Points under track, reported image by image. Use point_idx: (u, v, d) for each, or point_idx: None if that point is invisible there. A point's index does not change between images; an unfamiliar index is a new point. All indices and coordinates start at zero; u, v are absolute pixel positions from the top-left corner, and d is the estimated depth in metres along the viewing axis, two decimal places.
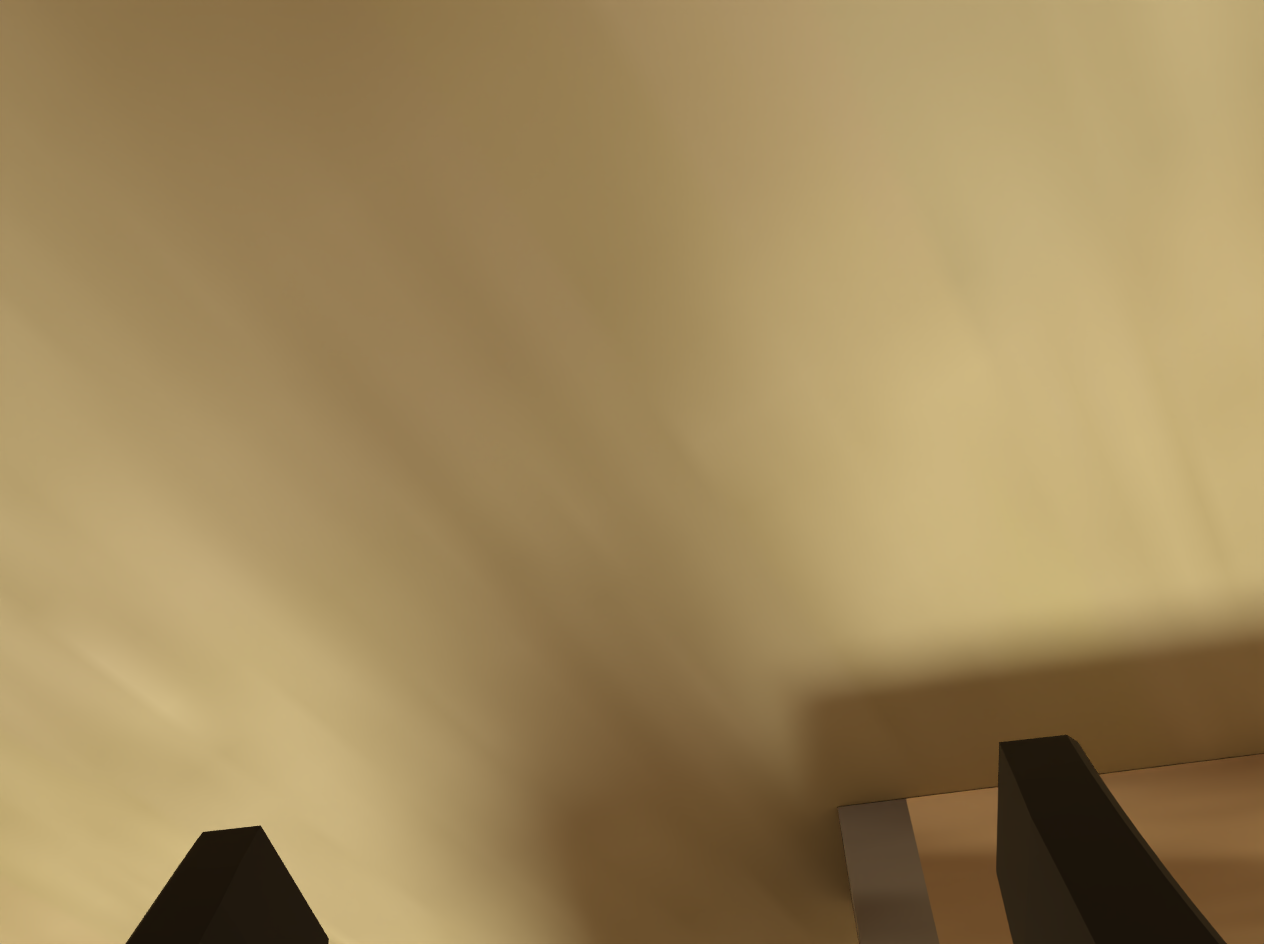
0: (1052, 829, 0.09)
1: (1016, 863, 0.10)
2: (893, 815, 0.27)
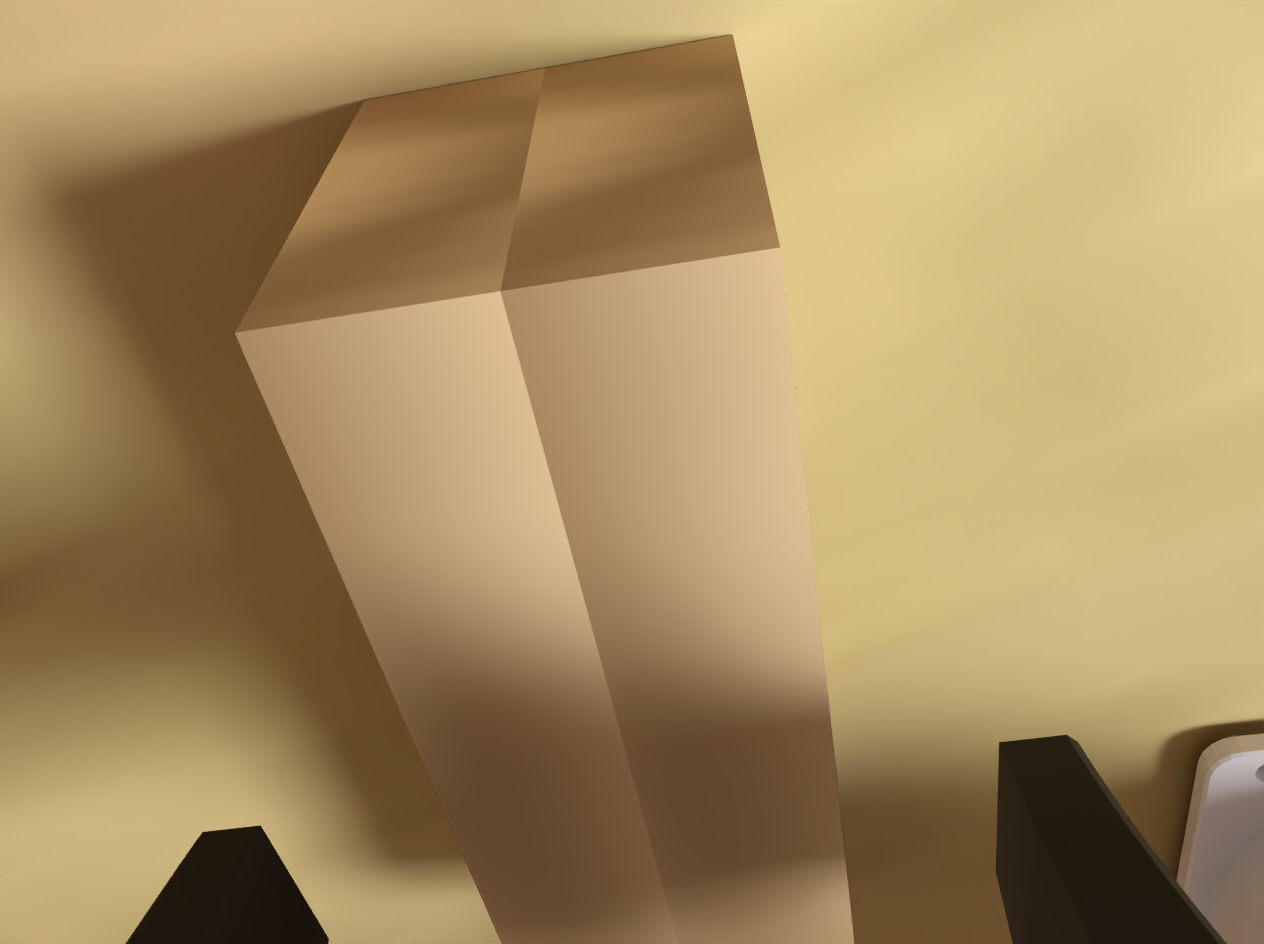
0: (1052, 828, 0.09)
1: (1016, 862, 0.10)
2: None
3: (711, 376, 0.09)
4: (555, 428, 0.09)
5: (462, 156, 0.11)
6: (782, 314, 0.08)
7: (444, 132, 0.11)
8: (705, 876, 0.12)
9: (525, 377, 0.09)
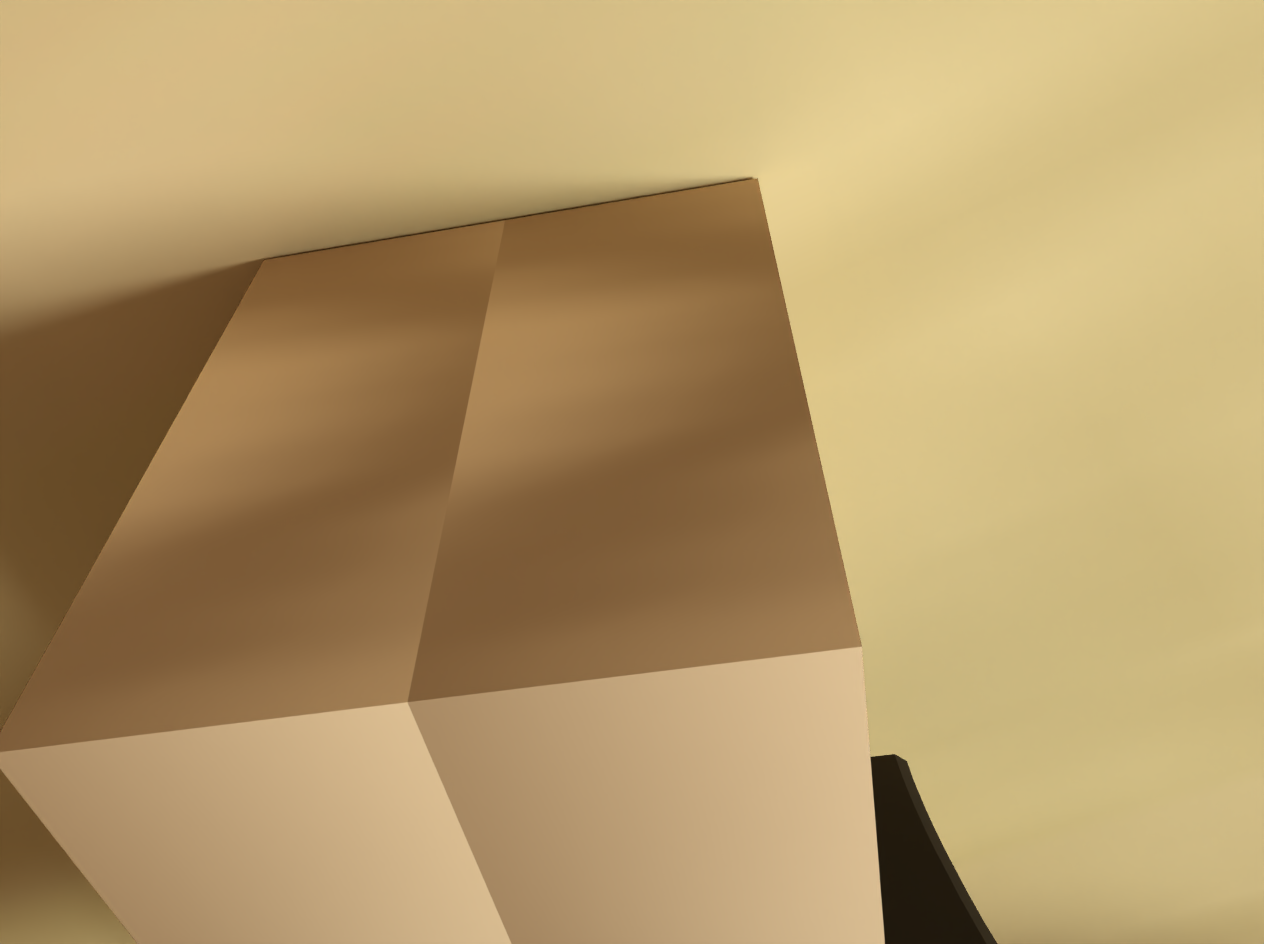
0: None
1: None
2: None
3: (746, 801, 0.06)
4: (503, 863, 0.06)
5: (381, 383, 0.07)
6: (861, 731, 0.05)
7: (360, 331, 0.08)
8: None
9: (453, 803, 0.06)
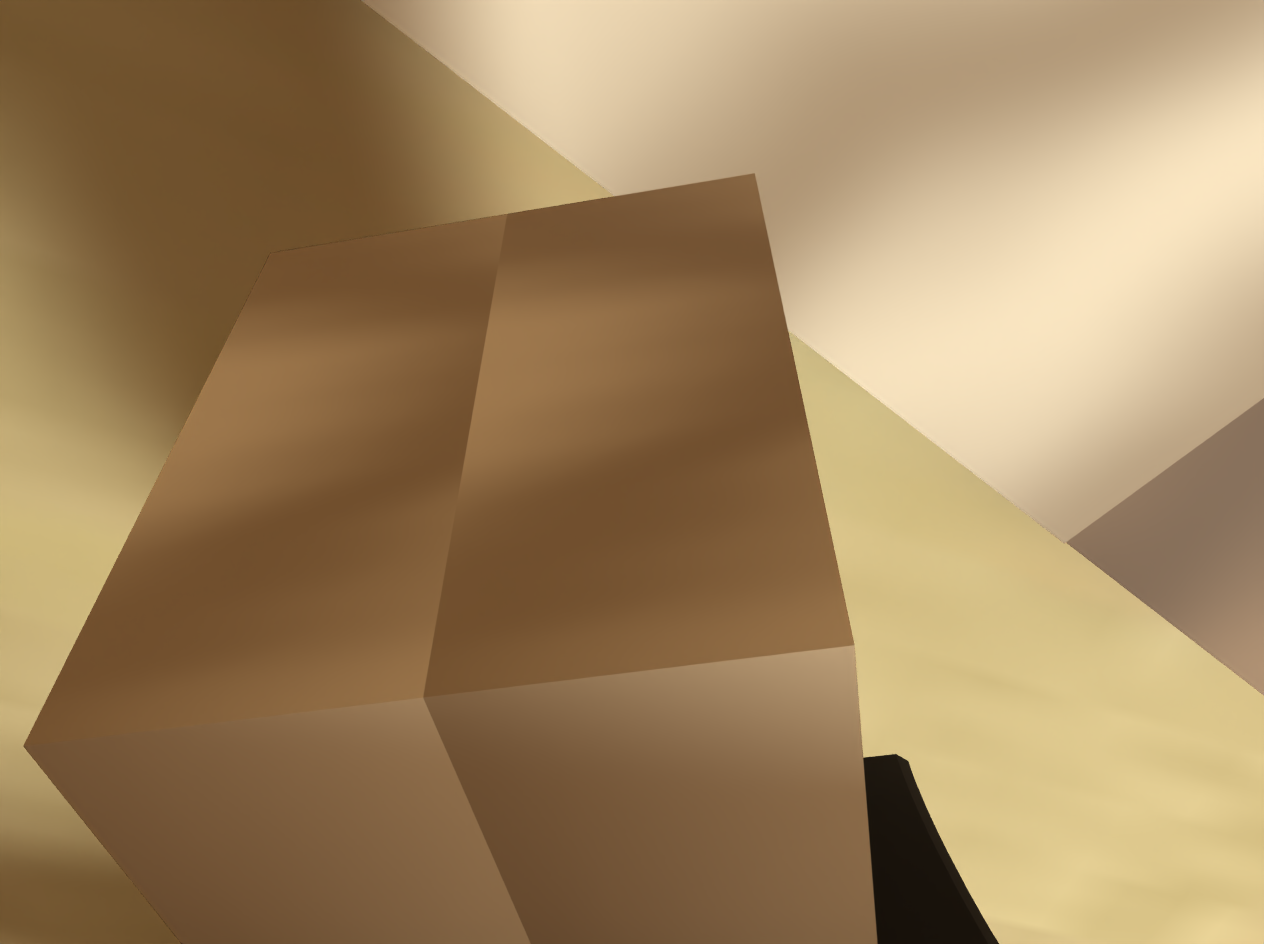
0: None
1: None
2: None
3: (744, 790, 0.06)
4: (513, 846, 0.06)
5: (388, 381, 0.08)
6: (853, 723, 0.05)
7: (367, 327, 0.08)
8: None
9: (464, 790, 0.06)
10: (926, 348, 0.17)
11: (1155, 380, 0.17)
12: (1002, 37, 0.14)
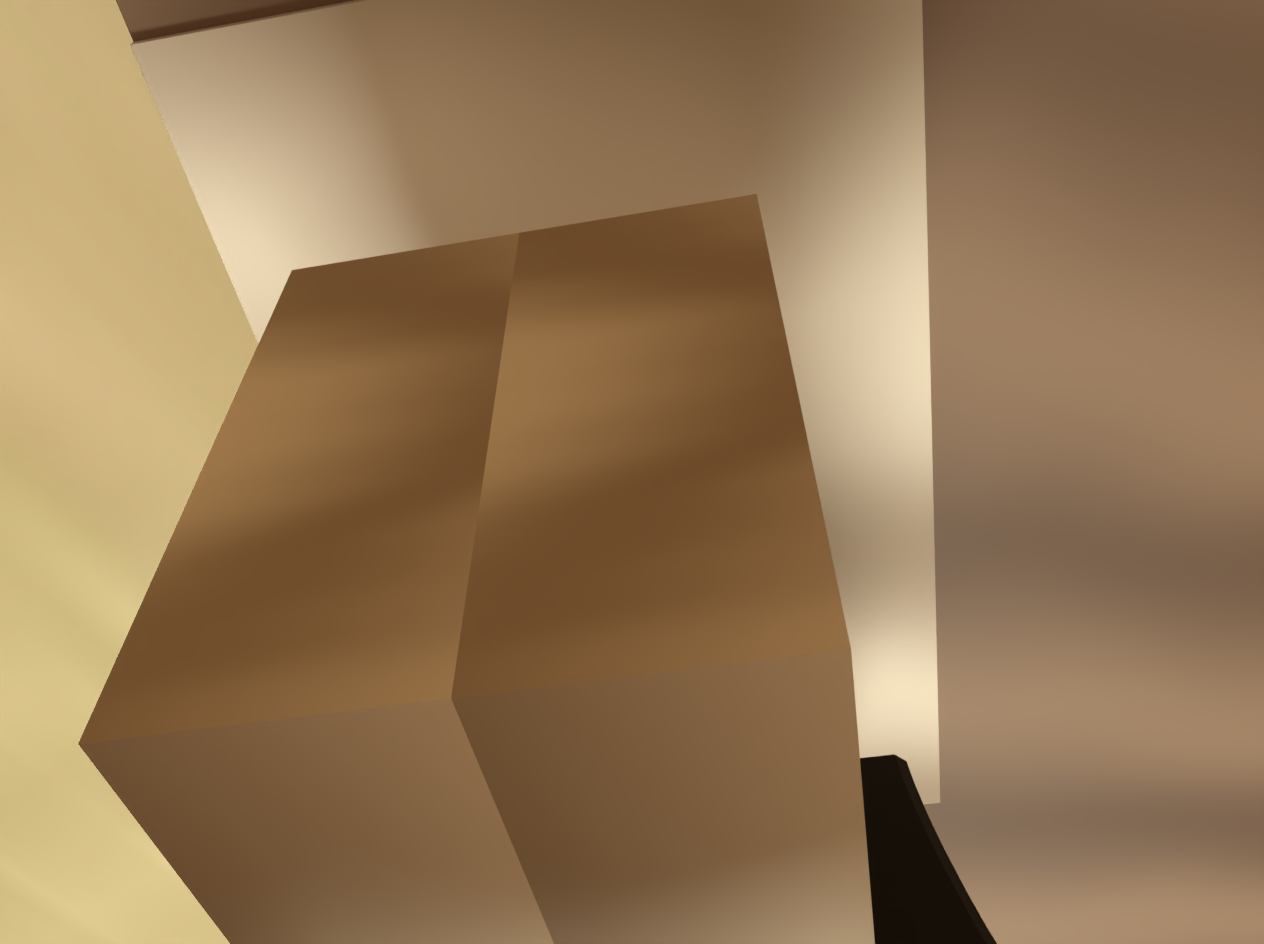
0: None
1: None
2: None
3: (748, 782, 0.06)
4: (532, 836, 0.07)
5: (409, 395, 0.08)
6: (850, 721, 0.06)
7: (388, 344, 0.09)
8: None
9: (488, 784, 0.06)
10: None
11: None
12: None
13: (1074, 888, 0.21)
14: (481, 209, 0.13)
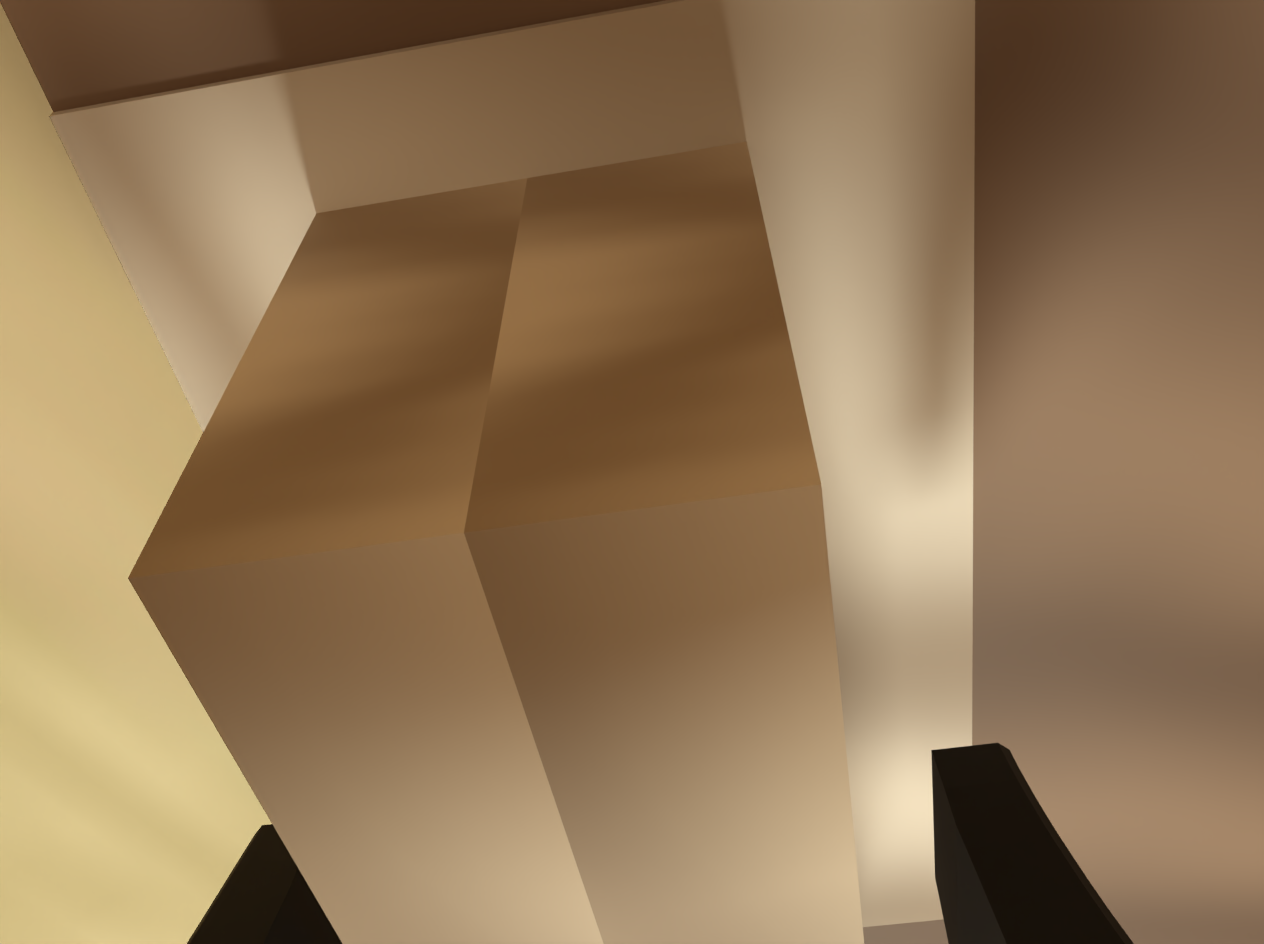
0: (976, 837, 0.09)
1: (948, 870, 0.10)
2: None
3: (732, 624, 0.07)
4: (535, 680, 0.07)
5: (426, 307, 0.09)
6: (822, 558, 0.07)
7: (406, 268, 0.09)
8: None
9: (497, 625, 0.07)
10: None
11: None
12: None
13: None
14: None
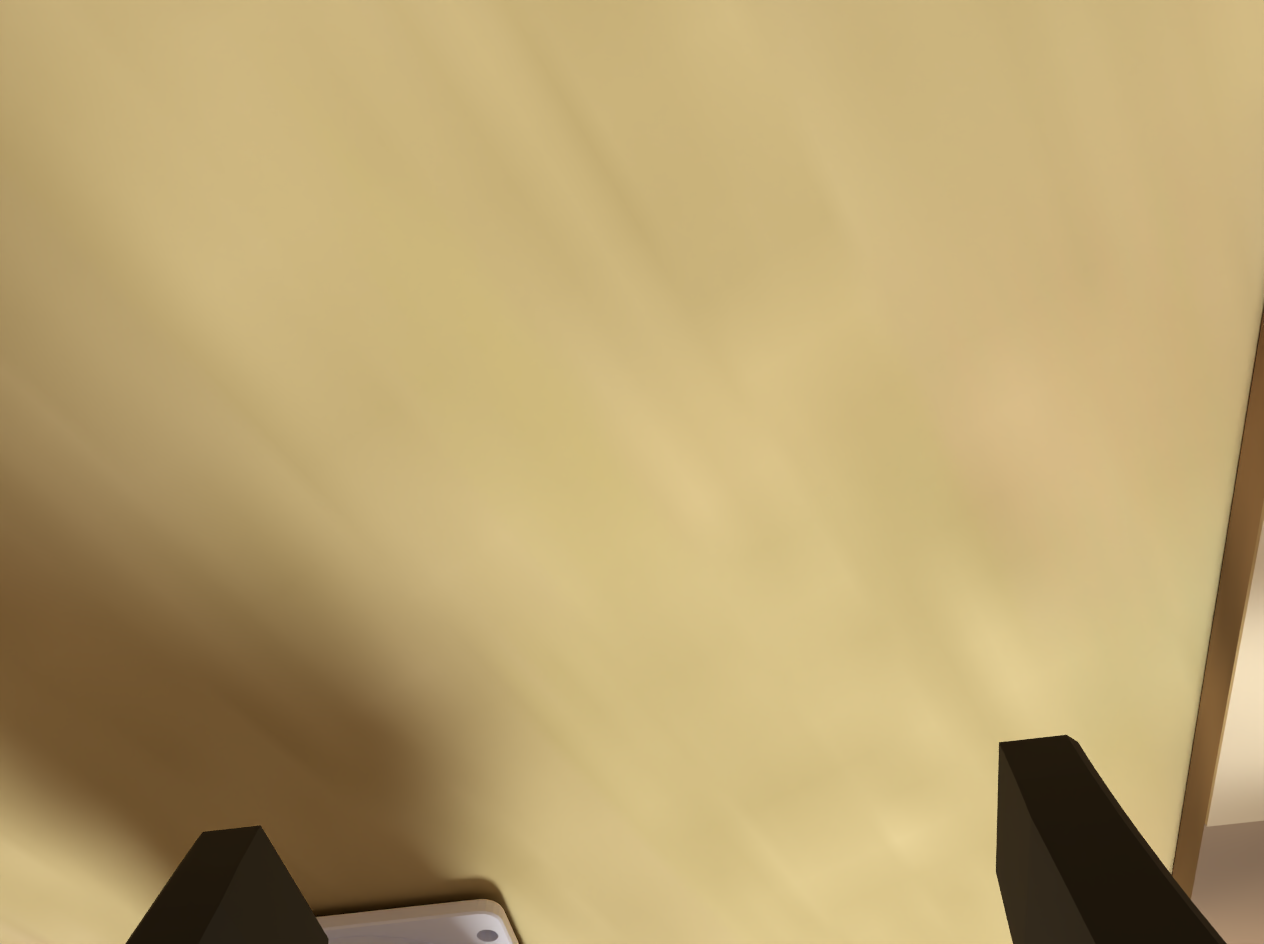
0: (1052, 829, 0.09)
1: (1016, 863, 0.10)
2: None
3: None
4: None
5: None
6: None
7: None
8: None
9: None
10: None
11: None
12: None
13: None
14: None
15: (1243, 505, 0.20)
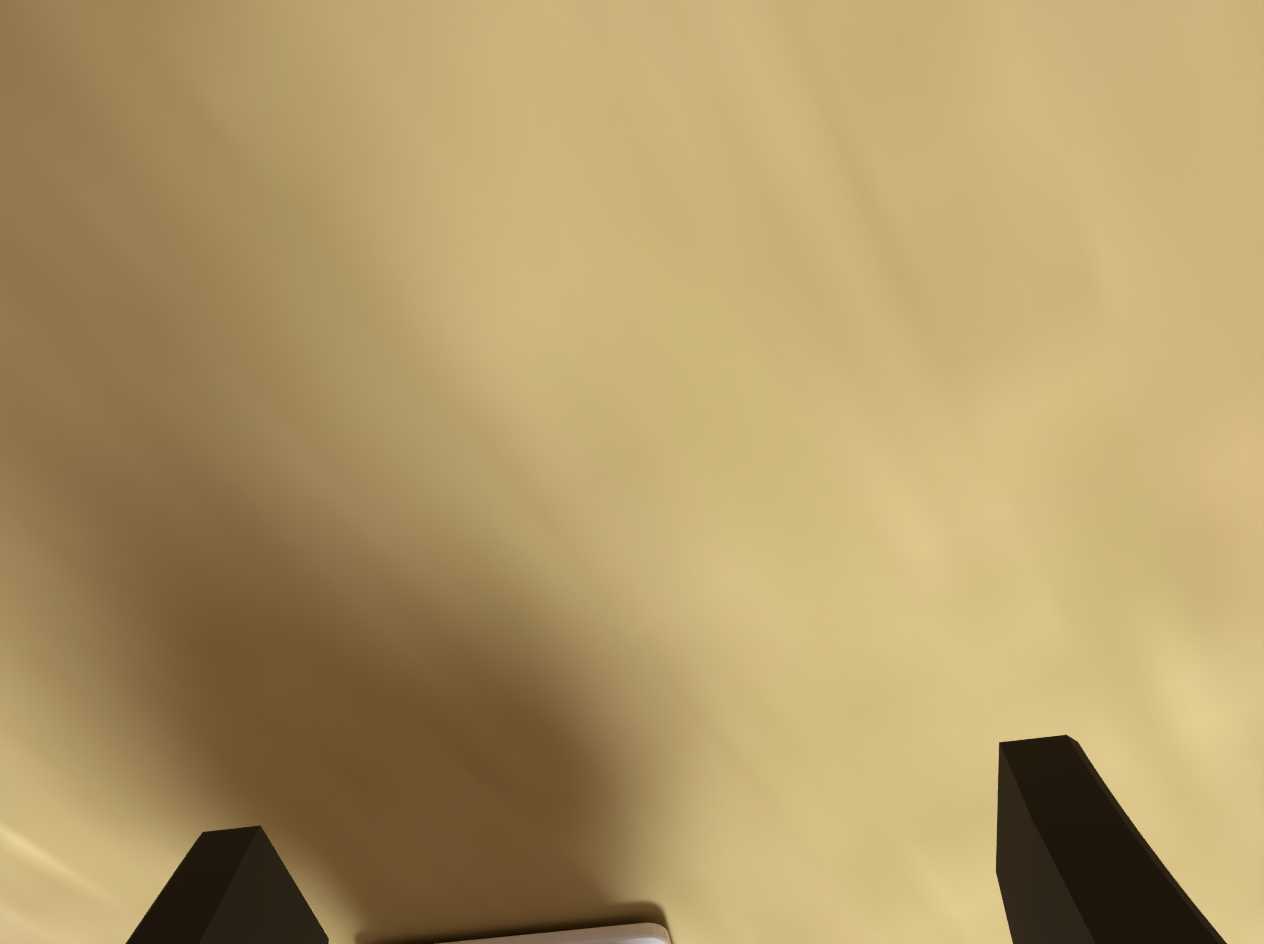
0: (1052, 829, 0.09)
1: (1016, 863, 0.10)
2: None
3: None
4: None
5: None
6: None
7: None
8: None
9: None
10: None
11: None
12: None
13: None
14: None
15: None
